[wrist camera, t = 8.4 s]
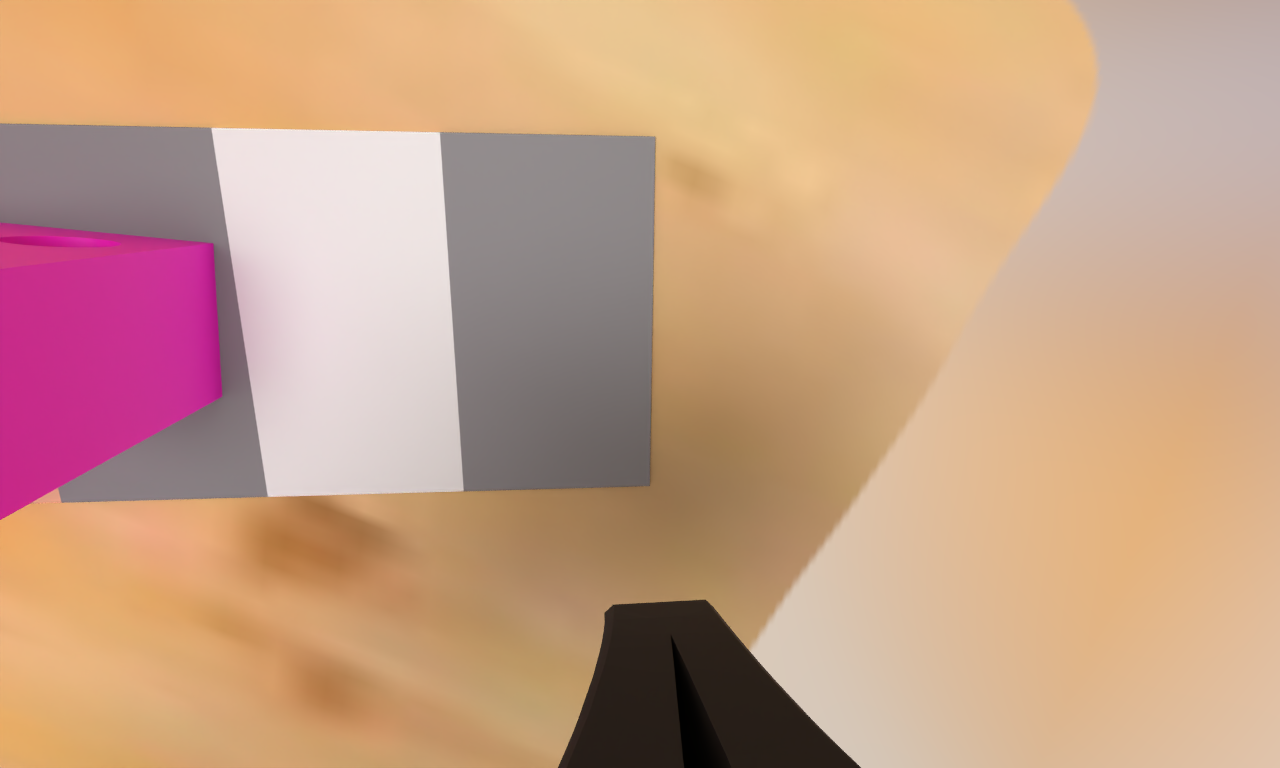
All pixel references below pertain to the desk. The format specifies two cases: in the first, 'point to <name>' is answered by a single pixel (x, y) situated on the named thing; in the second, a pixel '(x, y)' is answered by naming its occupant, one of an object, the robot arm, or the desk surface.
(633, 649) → the robot arm
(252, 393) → the board
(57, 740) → the desk surface
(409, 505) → the desk surface
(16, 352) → the toy block
